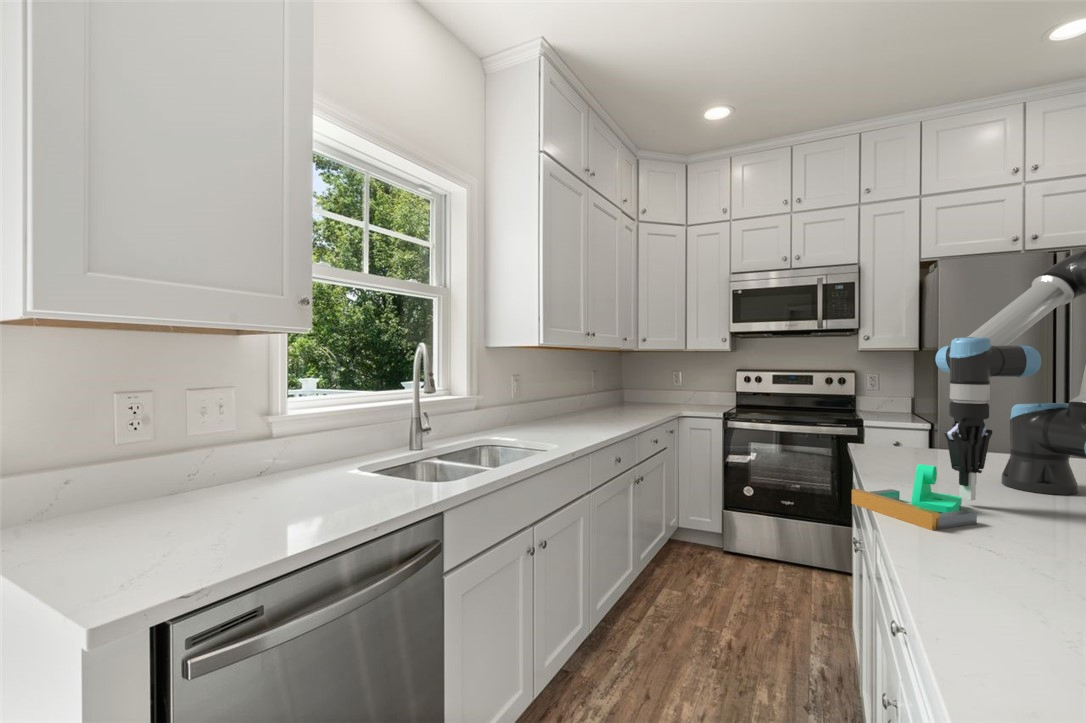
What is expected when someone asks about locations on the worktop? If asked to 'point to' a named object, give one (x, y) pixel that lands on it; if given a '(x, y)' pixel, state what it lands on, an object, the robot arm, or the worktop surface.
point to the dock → (910, 510)
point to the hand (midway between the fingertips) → (967, 498)
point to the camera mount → (926, 497)
